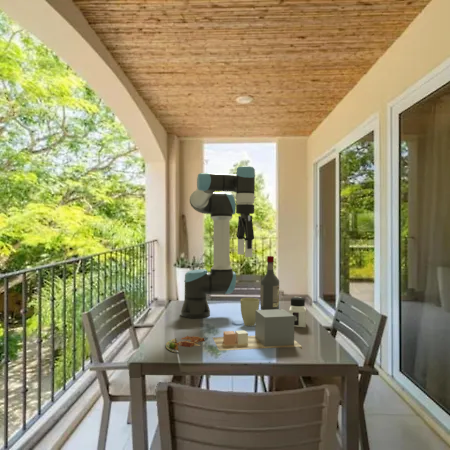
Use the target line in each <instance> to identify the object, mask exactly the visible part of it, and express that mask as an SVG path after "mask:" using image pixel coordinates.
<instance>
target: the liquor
mask: <svg viewBox="0 0 450 450" xmlns="http://www.w3.org/2000/svg"><path fill="white" fill-rule="evenodd" d="M274 257H275V256H274V255H268V256H266V259H267V260H266V261H267V266H266V267H267V271H266V274H265V275H264V276H263V277H262V278H261V280H260V310H273V309H280V280H279V278H278V277H277V276H276V275H275V271H274V261H275V259H274Z"/></svg>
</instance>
